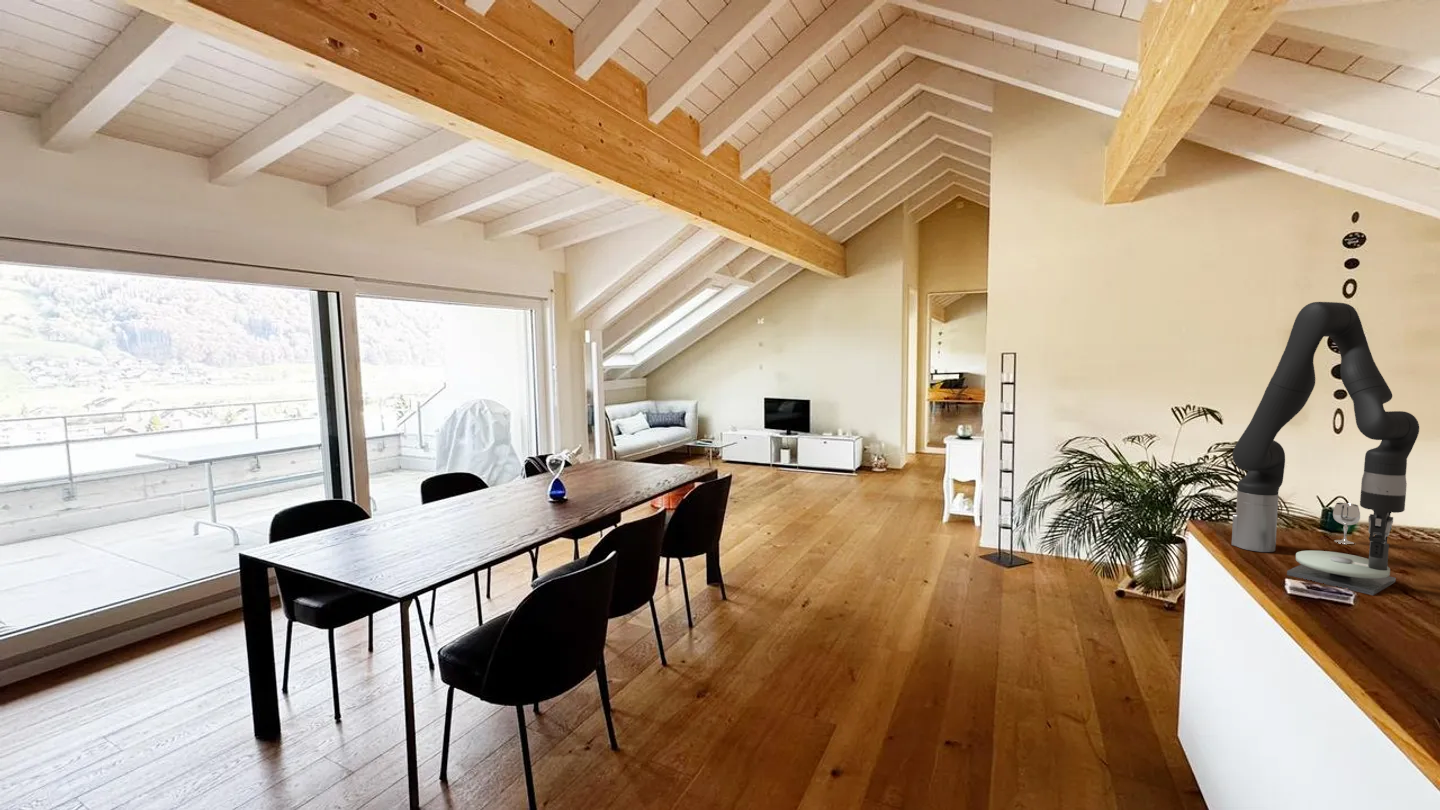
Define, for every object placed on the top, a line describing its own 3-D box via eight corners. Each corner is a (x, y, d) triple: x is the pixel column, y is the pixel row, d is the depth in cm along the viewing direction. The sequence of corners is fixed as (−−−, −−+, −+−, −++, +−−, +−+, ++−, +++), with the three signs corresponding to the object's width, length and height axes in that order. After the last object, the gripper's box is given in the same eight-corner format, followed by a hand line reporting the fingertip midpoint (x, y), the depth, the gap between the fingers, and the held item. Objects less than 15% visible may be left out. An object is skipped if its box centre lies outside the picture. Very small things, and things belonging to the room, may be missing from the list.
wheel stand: (1287, 574, 159) (1287, 564, 159) (1311, 563, 166) (1311, 553, 166) (1373, 595, 145) (1373, 583, 145) (1395, 582, 152) (1396, 570, 152)
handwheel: (1286, 563, 158) (1288, 534, 157) (1306, 551, 167) (1307, 523, 166) (1380, 583, 144) (1383, 551, 143) (1396, 568, 153) (1398, 538, 152)
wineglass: (1363, 545, 180) (1366, 507, 179) (1341, 545, 181) (1343, 506, 180) (1348, 540, 186) (1350, 502, 185) (1326, 539, 187) (1328, 501, 186)
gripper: (1403, 498, 141) (1398, 564, 143) (1407, 488, 150) (1402, 551, 151) (1357, 492, 147) (1352, 556, 149) (1364, 483, 156) (1359, 544, 157)
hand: (1378, 553), depth 150 cm, fingers open, 8 cm apart
